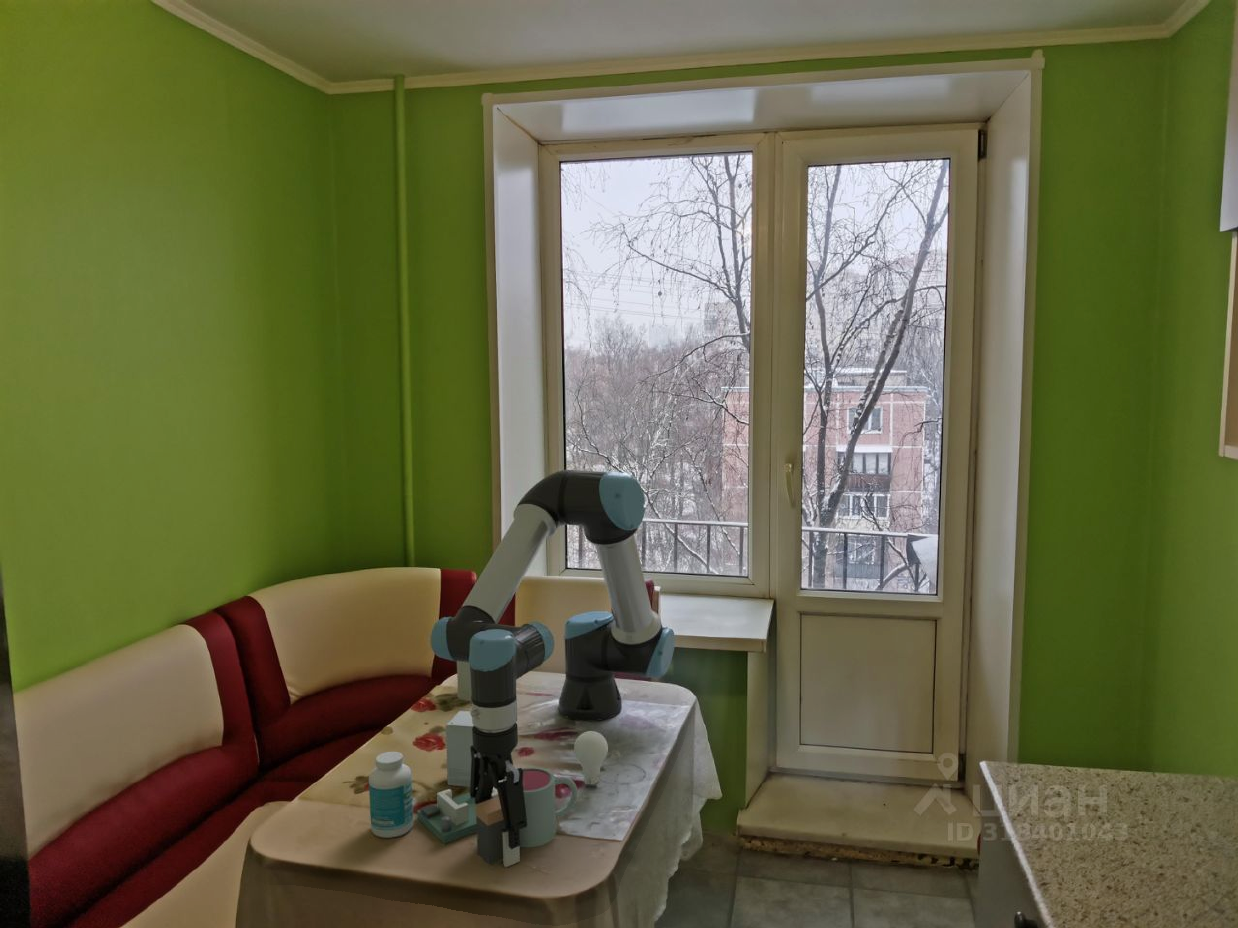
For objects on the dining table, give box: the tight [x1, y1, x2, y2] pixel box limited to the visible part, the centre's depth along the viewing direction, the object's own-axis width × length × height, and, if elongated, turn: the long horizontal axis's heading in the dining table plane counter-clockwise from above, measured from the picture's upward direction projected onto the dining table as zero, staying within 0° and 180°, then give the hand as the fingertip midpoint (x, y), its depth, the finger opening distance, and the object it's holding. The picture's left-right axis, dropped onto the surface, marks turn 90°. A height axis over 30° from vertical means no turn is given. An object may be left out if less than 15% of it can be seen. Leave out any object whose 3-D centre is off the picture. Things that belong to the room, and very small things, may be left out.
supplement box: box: [445, 710, 474, 788], centre depth 172 cm, size 7×7×13 cm
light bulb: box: [573, 730, 609, 787], centre depth 168 cm, size 7×7×11 cm
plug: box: [476, 796, 521, 866], centre depth 145 cm, size 6×4×9 cm, turn 128°
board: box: [416, 787, 498, 845], centre depth 157 cm, size 14×11×4 cm
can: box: [456, 661, 472, 702], centre depth 216 cm, size 9×9×12 cm
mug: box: [502, 766, 579, 848], centre depth 152 cm, size 14×9×10 cm
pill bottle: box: [368, 751, 414, 839], centre depth 153 cm, size 8×7×14 cm
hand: (498, 851), depth 146 cm, fingers open, 8 cm apart
